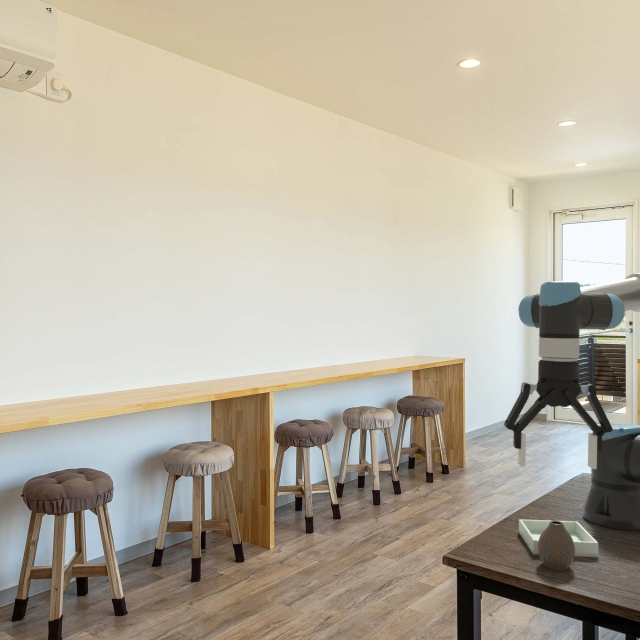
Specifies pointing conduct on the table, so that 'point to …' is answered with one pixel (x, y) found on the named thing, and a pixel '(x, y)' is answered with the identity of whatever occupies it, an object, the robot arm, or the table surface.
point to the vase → (556, 546)
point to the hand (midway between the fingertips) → (556, 466)
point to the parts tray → (580, 536)
